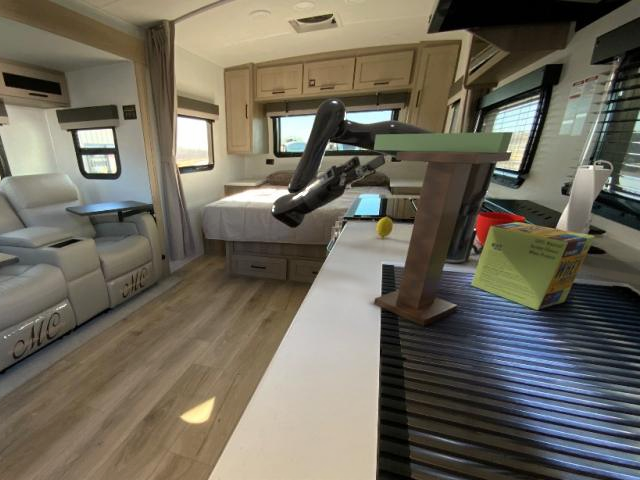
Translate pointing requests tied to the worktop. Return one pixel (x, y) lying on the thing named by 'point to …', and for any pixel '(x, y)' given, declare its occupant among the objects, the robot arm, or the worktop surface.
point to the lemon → (384, 227)
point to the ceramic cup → (493, 223)
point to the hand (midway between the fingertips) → (371, 159)
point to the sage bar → (445, 142)
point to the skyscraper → (583, 197)
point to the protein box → (530, 263)
